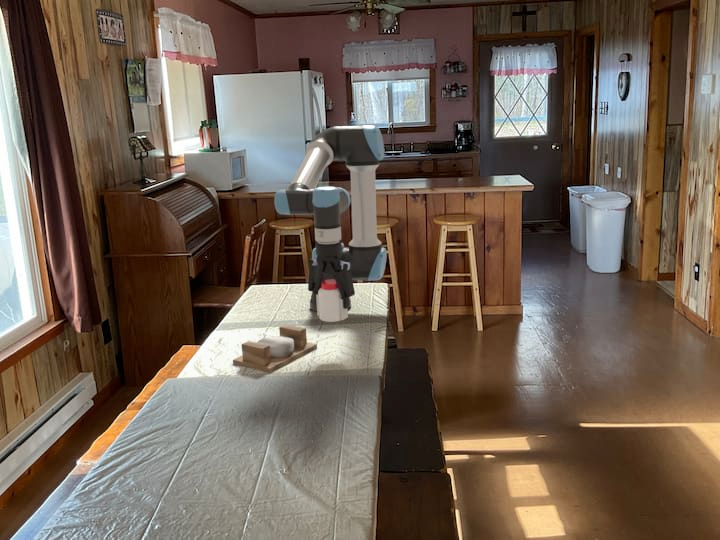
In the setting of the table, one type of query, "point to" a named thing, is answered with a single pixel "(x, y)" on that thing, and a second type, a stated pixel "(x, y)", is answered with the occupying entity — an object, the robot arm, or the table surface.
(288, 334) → the cardboard packaging tray
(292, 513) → the table surface
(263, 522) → the table surface
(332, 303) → the pill bottle
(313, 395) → the table surface
